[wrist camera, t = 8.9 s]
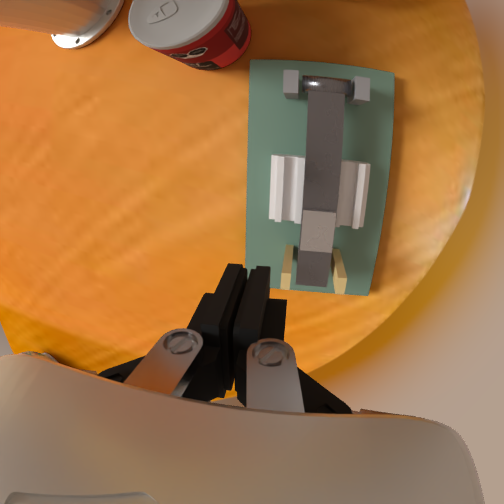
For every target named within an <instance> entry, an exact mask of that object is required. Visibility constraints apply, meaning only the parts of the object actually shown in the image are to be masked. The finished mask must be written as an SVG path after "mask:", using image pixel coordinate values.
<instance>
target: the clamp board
mask: <svg viewBox="0 0 504 504" xmlns="http://www.w3.org/2000/svg"><path fill="white" fill-rule="evenodd" d="M302 75H311V76H323V77H333V78H341V79H349V80H351V83H352V89H351V96H350V97H345V106H344V130H343V147H342V162H341V174H340V186H339V197H338V207H337V216H336V225H335V233H334V241H333V249H332V256H331V263H330V270H329V277H328V284H327V287H317V286H305V285H295V283H296V272H297V262H298V251H299V239H300V228H301V215H302V202H303V187H304V171H305V154H306V133H307V107H308V93H302ZM393 118H394V73H392V72H387V71H381V70H376V69H370V68H364V67H357V66H350V65H342V64H334V63H324V62H312V61H296V60H250V77H249V115H248V157H247V204H246V258H245V268H247V270H248V277H249V274H250V270H251V269H256V266H270V267H271V272H270V288H277V289H283V290H299V291H311V292H323V293H335V294H343V295H344V294H349V295H363V296H368V294H369V290H370V285H371V281H372V276H373V272H374V267H375V262H376V257H377V252H378V246H379V241H380V235H381V229H382V223H383V217H384V210H385V203H386V196H387V188H388V179H389V170H390V160H391V149H392V135H393Z"/></svg>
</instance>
